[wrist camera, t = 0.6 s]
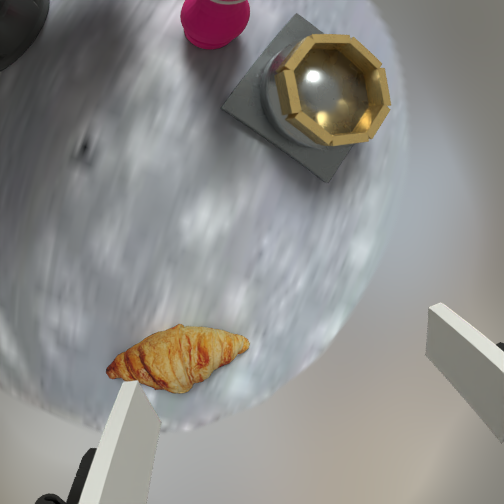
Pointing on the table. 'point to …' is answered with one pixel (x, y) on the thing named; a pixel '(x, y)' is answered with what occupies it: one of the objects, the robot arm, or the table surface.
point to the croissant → (177, 357)
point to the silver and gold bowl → (313, 96)
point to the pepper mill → (214, 21)
